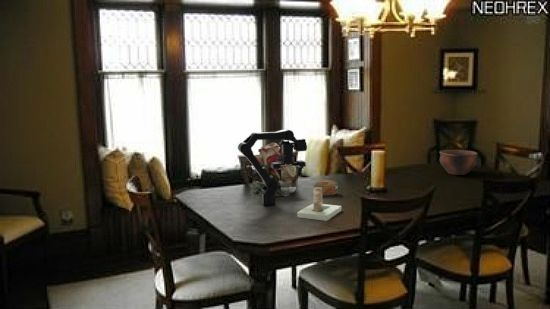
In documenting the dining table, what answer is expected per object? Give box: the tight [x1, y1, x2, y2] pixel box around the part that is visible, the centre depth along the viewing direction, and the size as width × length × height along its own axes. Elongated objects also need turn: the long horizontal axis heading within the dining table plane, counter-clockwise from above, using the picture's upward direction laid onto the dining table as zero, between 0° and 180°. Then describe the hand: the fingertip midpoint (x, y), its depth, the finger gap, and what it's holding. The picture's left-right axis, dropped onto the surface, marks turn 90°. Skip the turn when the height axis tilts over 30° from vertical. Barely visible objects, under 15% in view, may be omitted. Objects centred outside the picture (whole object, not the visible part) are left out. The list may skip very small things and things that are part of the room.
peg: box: [312, 187, 323, 212], centre depth 269 cm, size 4×4×14 cm
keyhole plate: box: [296, 203, 342, 222], centre depth 272 cm, size 20×16×2 cm
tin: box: [313, 180, 340, 197], centre depth 312 cm, size 15×3×8 cm, turn 101°
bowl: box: [439, 149, 478, 176], centre depth 361 cm, size 25×25×15 cm
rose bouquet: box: [249, 142, 297, 197], centre depth 322 cm, size 26×29×30 cm
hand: (288, 179), depth 294 cm, fingers open, 9 cm apart
